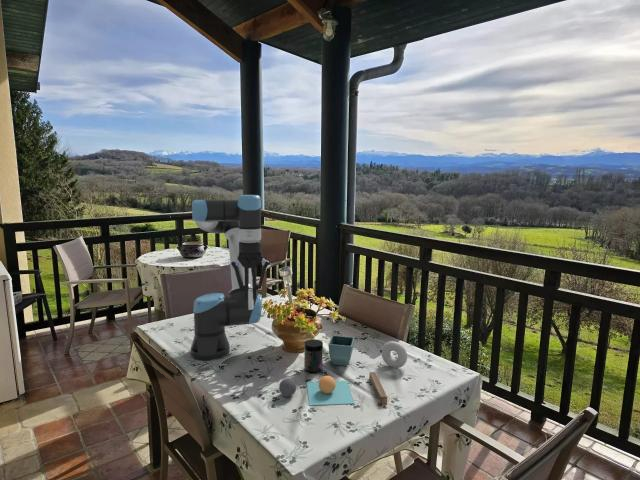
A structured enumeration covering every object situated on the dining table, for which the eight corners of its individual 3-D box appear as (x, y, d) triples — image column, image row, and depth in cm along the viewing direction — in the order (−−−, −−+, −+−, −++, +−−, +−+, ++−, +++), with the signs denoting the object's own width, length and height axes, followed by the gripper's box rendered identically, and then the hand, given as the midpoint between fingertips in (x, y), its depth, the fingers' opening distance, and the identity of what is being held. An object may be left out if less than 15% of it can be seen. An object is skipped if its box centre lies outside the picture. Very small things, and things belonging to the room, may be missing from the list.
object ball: (331, 377, 123) (340, 391, 124) (328, 369, 129) (336, 382, 130) (316, 386, 123) (325, 400, 124) (314, 378, 128) (322, 391, 129)
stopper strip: (380, 404, 120) (380, 396, 120) (369, 378, 136) (369, 372, 136) (387, 404, 120) (387, 396, 120) (374, 378, 136) (375, 371, 136)
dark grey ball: (291, 381, 121) (298, 396, 122) (292, 372, 127) (299, 386, 128) (275, 387, 122) (282, 402, 122) (277, 378, 127) (284, 392, 128)
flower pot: (351, 369, 143) (351, 346, 142) (327, 367, 145) (328, 344, 143) (354, 359, 151) (354, 337, 150) (331, 356, 153) (332, 335, 152)
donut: (408, 369, 144) (409, 343, 142) (404, 372, 141) (405, 346, 139) (383, 362, 149) (384, 337, 148) (379, 365, 146) (380, 340, 145)
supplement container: (318, 376, 138) (318, 348, 136) (301, 372, 140) (301, 344, 139) (325, 368, 144) (325, 341, 142) (308, 364, 146) (308, 338, 145)
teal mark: (309, 405, 119) (309, 405, 119) (306, 382, 133) (306, 382, 133) (354, 403, 120) (354, 403, 120) (347, 381, 134) (347, 380, 134)
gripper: (228, 242, 127) (230, 312, 130) (269, 242, 128) (269, 311, 132) (231, 239, 134) (233, 305, 138) (269, 239, 136) (270, 304, 139)
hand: (251, 308), depth 135 cm, fingers closed
